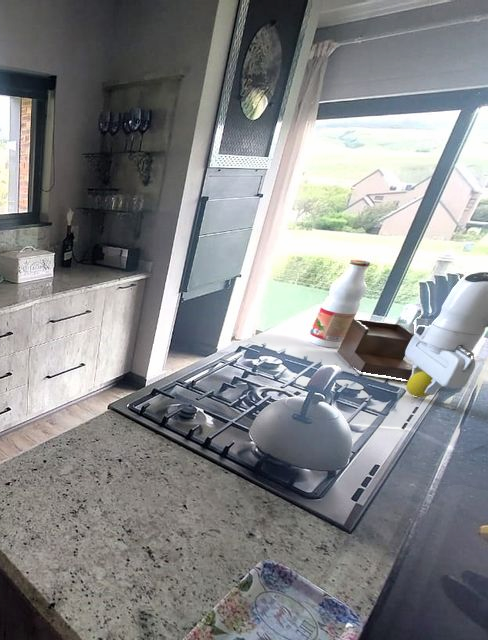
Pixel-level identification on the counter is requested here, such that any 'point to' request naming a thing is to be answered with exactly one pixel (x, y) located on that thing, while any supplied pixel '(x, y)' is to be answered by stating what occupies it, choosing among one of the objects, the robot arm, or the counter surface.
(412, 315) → the syrup box
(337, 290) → the fruit juice
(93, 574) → the counter surface
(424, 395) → the lemon
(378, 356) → the brown stepped wooden block
